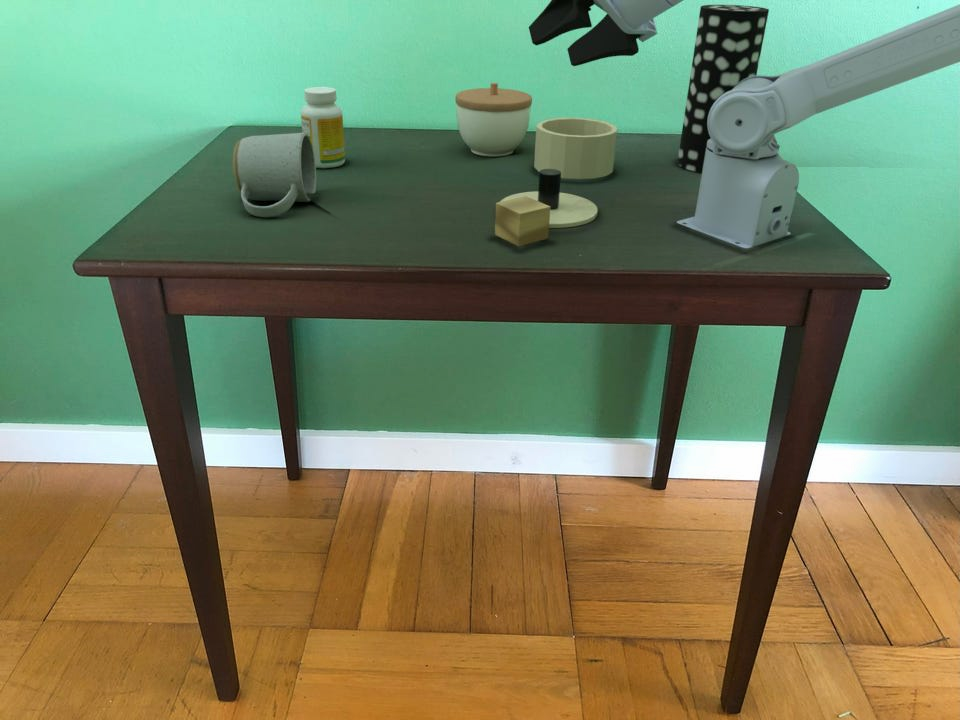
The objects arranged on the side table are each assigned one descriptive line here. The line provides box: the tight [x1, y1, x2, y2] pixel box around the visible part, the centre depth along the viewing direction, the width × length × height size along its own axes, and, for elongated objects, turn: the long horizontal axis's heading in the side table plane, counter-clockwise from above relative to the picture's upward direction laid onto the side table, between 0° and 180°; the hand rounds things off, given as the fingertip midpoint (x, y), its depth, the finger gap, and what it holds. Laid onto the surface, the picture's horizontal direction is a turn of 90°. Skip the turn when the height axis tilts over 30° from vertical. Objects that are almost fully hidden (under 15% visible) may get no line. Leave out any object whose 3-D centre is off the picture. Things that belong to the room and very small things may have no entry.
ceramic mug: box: [232, 132, 317, 218], centre depth 87 cm, size 11×8×8 cm
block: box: [494, 196, 550, 247], centre depth 80 cm, size 4×4×4 cm
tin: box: [533, 117, 618, 180], centre depth 102 cm, size 10×10×6 cm
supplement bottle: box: [300, 86, 346, 169], centre depth 102 cm, size 5×5×10 cm
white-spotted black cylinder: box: [676, 4, 770, 174], centre depth 102 cm, size 8×8×20 cm
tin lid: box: [499, 169, 599, 229], centre depth 86 cm, size 11×11×5 cm
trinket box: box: [455, 82, 533, 157], centre depth 109 cm, size 11×11×9 cm
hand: (552, 47), depth 85 cm, fingers open, 7 cm apart
